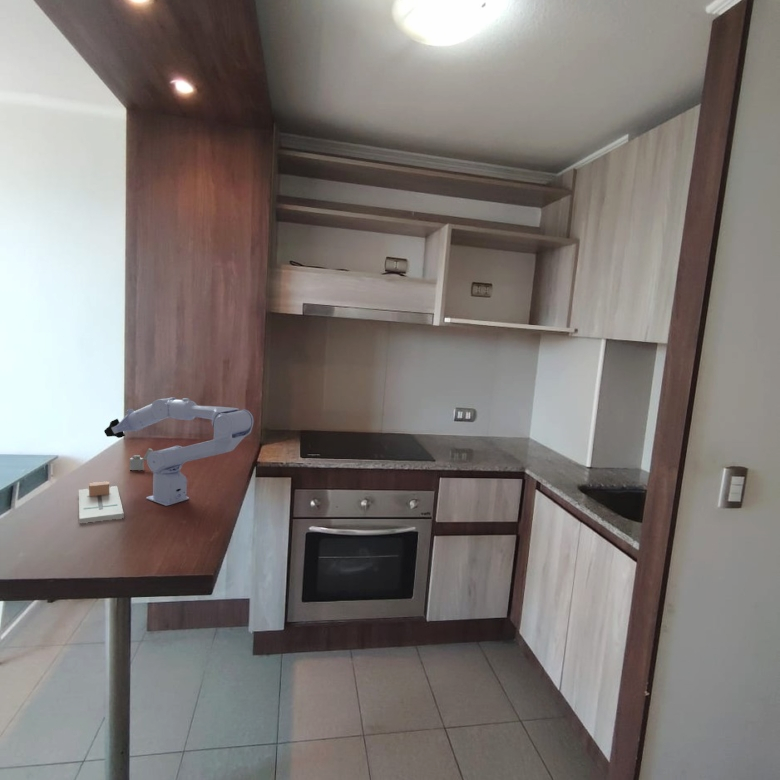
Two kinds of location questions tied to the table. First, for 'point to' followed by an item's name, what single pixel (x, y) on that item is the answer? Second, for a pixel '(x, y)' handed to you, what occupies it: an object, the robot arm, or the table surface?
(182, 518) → the table surface
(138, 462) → the lighter
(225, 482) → the table surface
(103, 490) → the block
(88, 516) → the fader board
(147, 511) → the table surface
